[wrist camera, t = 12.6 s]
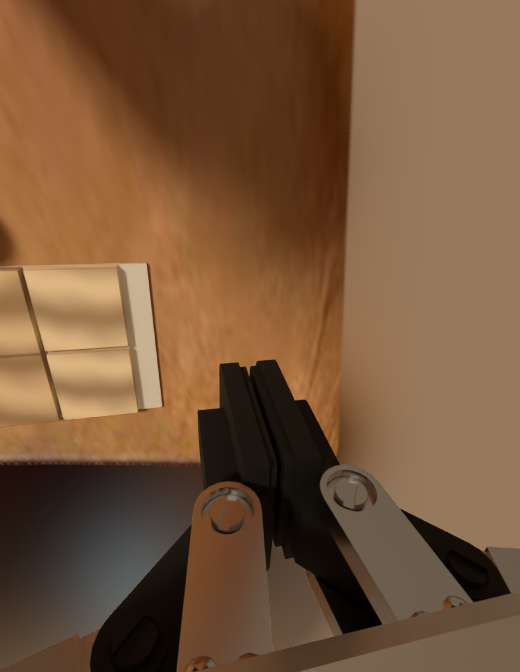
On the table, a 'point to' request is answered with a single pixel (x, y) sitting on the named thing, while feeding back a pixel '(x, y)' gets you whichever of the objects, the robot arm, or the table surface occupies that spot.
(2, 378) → the row
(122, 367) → the plank far
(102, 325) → the plank near
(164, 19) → the table surface
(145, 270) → the underlay mat
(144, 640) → the robot arm
